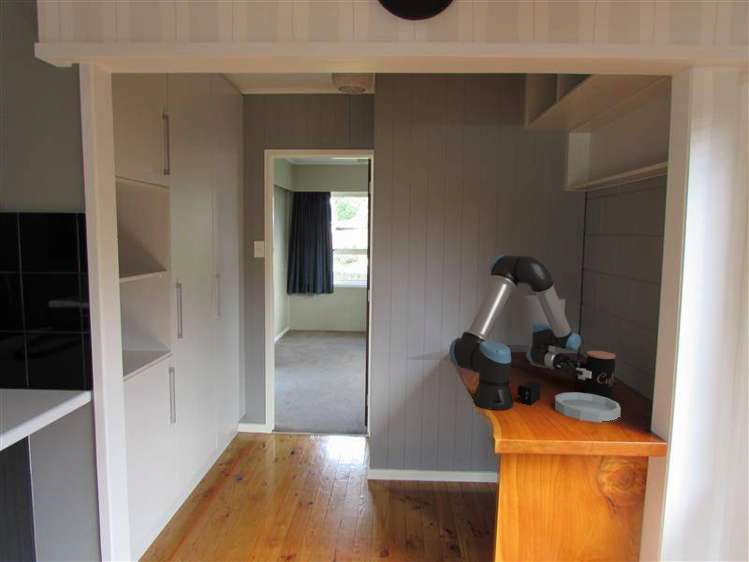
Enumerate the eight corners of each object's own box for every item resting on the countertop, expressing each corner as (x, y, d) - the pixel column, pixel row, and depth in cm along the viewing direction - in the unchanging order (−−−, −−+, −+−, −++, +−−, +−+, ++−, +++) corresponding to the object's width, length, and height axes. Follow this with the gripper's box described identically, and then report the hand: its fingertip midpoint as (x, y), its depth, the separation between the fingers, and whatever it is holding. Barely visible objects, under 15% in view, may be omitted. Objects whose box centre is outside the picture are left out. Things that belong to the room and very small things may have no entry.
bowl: (602, 426, 160) (603, 416, 160) (543, 408, 177) (544, 399, 177) (629, 413, 174) (630, 403, 174) (572, 397, 191) (573, 389, 191)
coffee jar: (597, 401, 186) (599, 357, 185) (578, 393, 197) (581, 351, 195) (619, 399, 189) (621, 356, 188) (599, 391, 200) (602, 350, 198)
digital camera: (526, 396, 191) (527, 379, 191) (539, 399, 188) (540, 382, 187) (516, 402, 183) (517, 385, 183) (530, 406, 180) (531, 388, 179)
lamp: (516, 359, 253) (519, 294, 250) (554, 360, 252) (557, 295, 249) (526, 369, 233) (530, 299, 230) (567, 371, 232) (571, 300, 229)
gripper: (575, 366, 217) (618, 378, 199) (538, 372, 205) (581, 386, 186) (576, 350, 217) (619, 360, 198) (539, 355, 204) (582, 367, 186)
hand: (601, 373), depth 192 cm, fingers open, 13 cm apart
